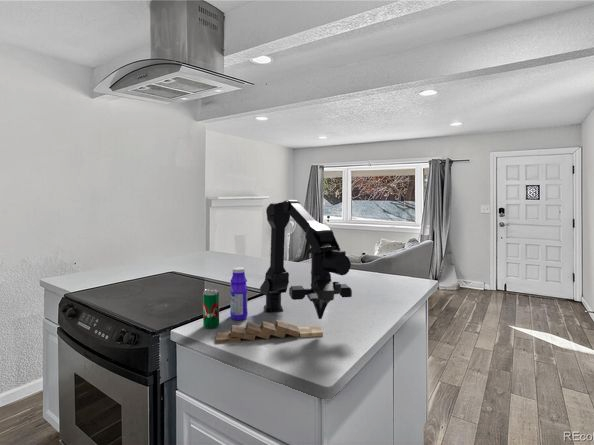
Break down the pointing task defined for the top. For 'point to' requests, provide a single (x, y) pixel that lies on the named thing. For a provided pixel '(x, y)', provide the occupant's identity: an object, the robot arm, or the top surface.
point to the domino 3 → (256, 330)
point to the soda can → (210, 308)
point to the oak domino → (310, 331)
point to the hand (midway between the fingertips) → (319, 318)
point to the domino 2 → (241, 333)
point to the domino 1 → (226, 338)
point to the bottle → (238, 294)
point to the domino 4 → (271, 329)
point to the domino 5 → (287, 328)
